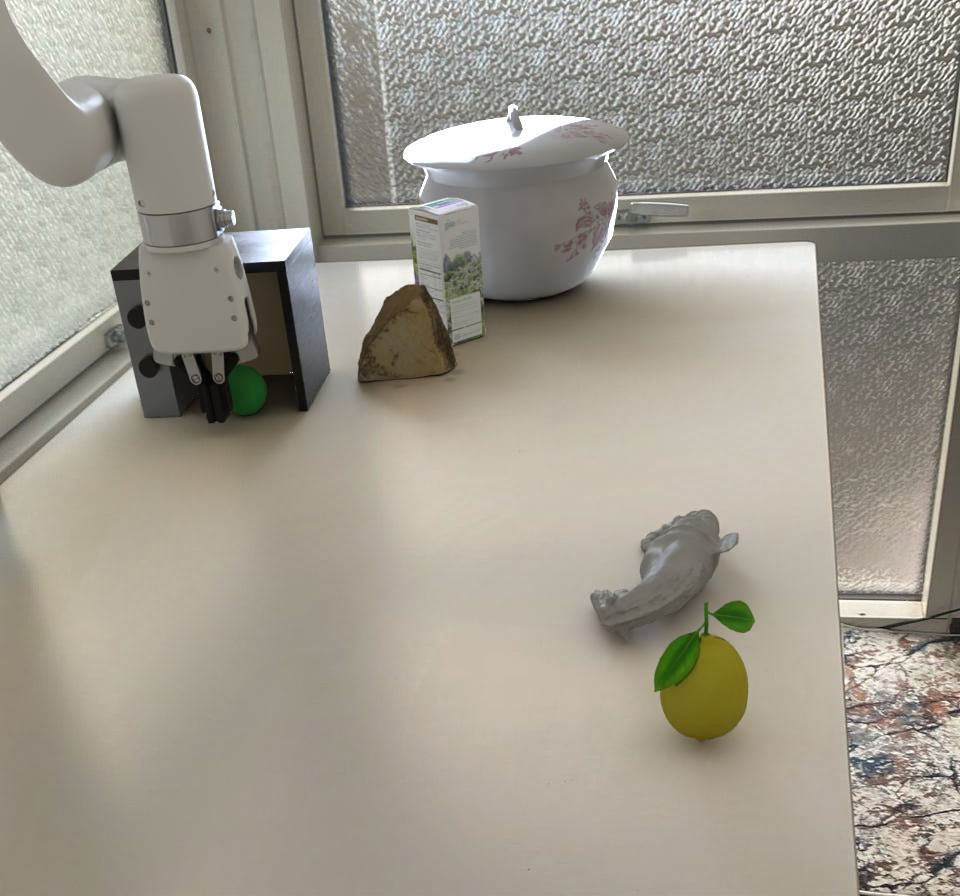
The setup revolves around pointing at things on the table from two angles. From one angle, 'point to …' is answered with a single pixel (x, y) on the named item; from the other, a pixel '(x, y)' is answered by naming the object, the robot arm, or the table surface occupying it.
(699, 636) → the lemon
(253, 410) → the ball
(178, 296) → the robot arm
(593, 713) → the table surface
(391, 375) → the rock
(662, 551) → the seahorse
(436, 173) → the chamber pot
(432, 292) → the syrup box
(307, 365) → the mini oven
